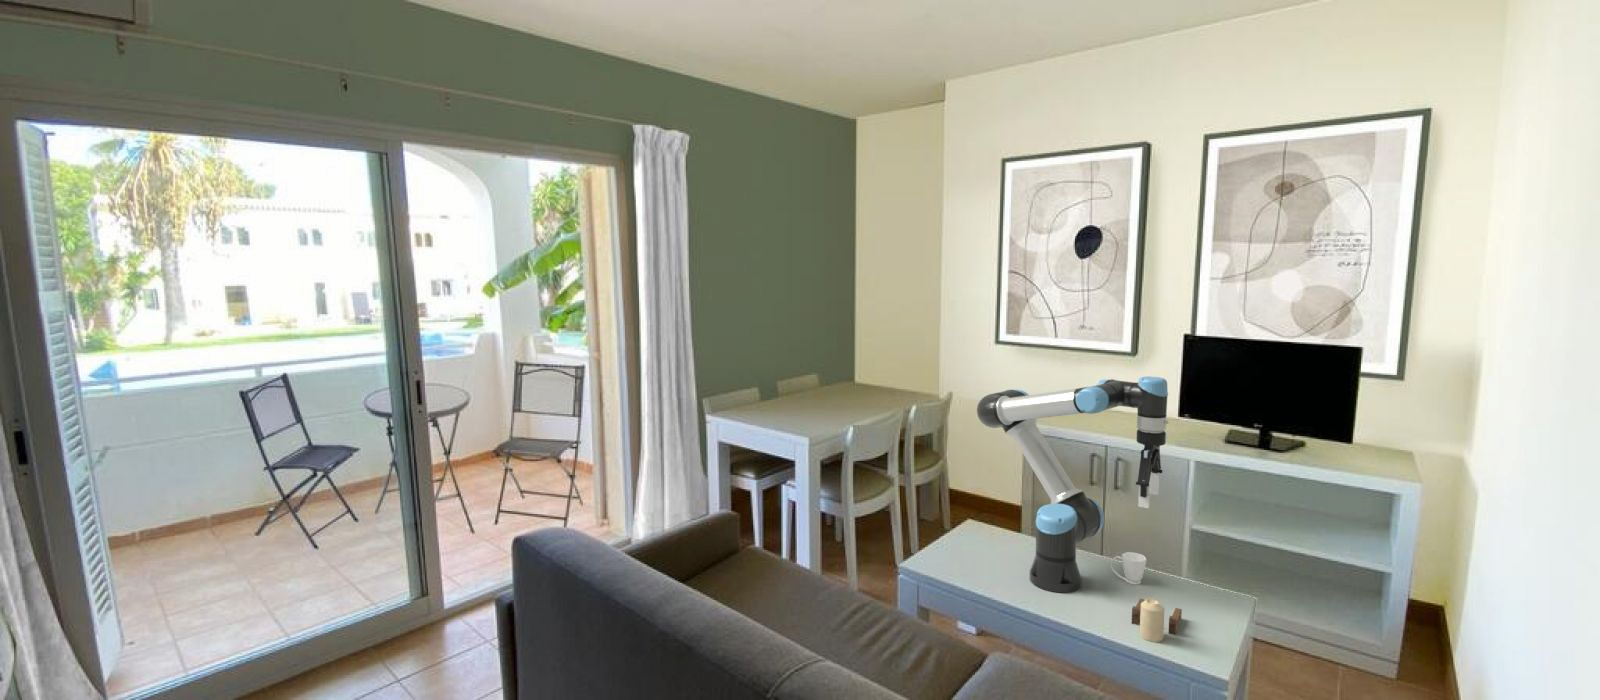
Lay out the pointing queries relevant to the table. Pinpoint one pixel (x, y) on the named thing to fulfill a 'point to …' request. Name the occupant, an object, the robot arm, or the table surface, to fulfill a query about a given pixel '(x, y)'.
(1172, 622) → the wooden stepped bars
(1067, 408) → the robot arm
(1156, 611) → the candle
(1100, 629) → the table surface
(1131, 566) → the cup
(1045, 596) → the table surface
